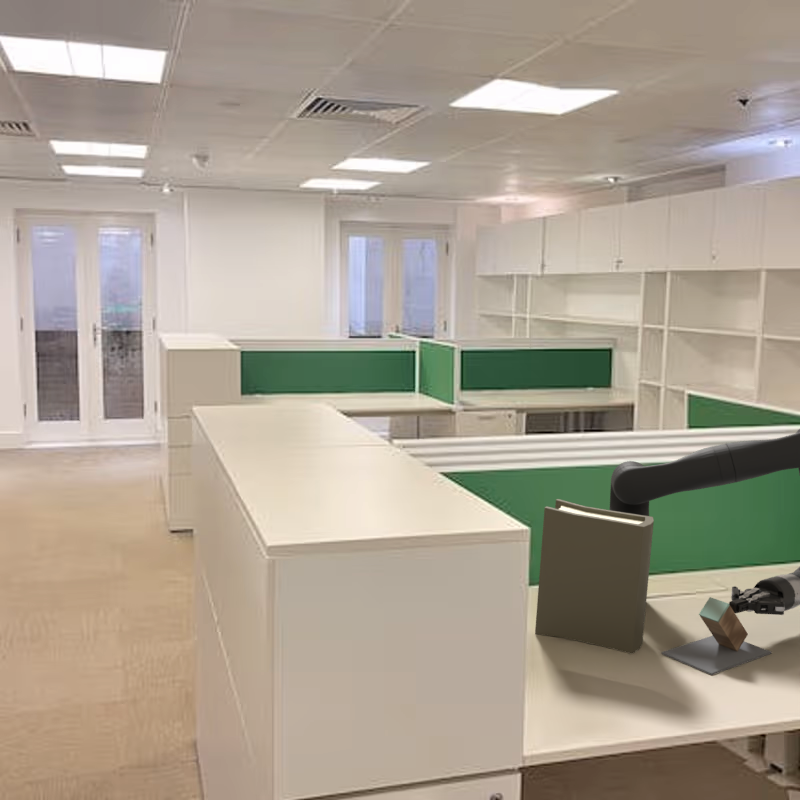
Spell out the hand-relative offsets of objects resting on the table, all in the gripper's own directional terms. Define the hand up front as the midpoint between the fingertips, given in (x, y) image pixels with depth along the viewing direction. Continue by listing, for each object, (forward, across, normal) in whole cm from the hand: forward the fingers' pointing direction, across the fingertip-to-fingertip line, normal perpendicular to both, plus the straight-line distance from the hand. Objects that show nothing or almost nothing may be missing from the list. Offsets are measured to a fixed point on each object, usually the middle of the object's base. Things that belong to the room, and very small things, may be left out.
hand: (732, 607), depth 189 cm
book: (+20, -20, +9) cm, 30 cm away
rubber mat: (+4, 0, +9) cm, 10 cm away
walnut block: (-1, 0, +7) cm, 7 cm away
